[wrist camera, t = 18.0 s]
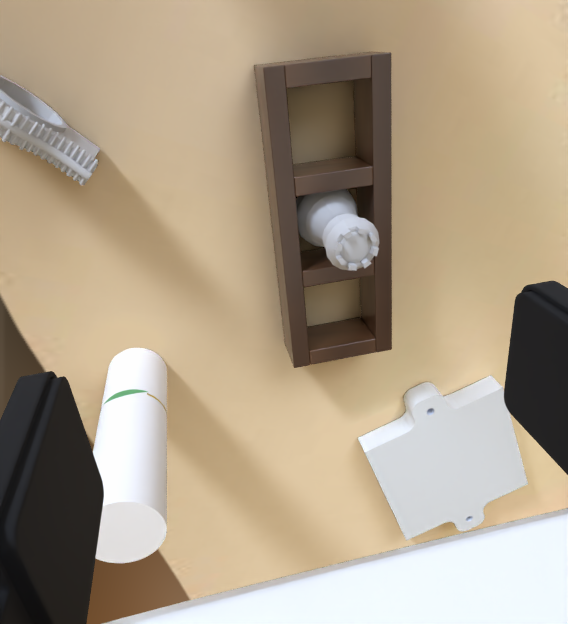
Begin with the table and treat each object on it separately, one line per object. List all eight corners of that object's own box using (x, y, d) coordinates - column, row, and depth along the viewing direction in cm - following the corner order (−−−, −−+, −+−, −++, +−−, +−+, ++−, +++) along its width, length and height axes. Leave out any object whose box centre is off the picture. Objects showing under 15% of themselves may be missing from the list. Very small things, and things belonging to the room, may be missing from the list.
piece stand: (284, 344, 41) (294, 368, 38) (253, 65, 32) (262, 67, 29) (375, 327, 42) (391, 349, 39) (370, 51, 33) (391, 52, 30)
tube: (177, 361, 40) (181, 515, 27) (151, 403, 41) (143, 571, 28) (123, 339, 39) (100, 491, 25) (98, 384, 40) (63, 551, 27)
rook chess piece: (280, 196, 36) (307, 232, 29) (340, 167, 36) (381, 197, 29) (304, 251, 38) (335, 298, 31) (360, 225, 38) (404, 265, 31)
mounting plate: (521, 486, 54) (532, 500, 53) (405, 539, 55) (413, 555, 53) (485, 353, 46) (497, 365, 44) (348, 418, 46) (355, 432, 44)
